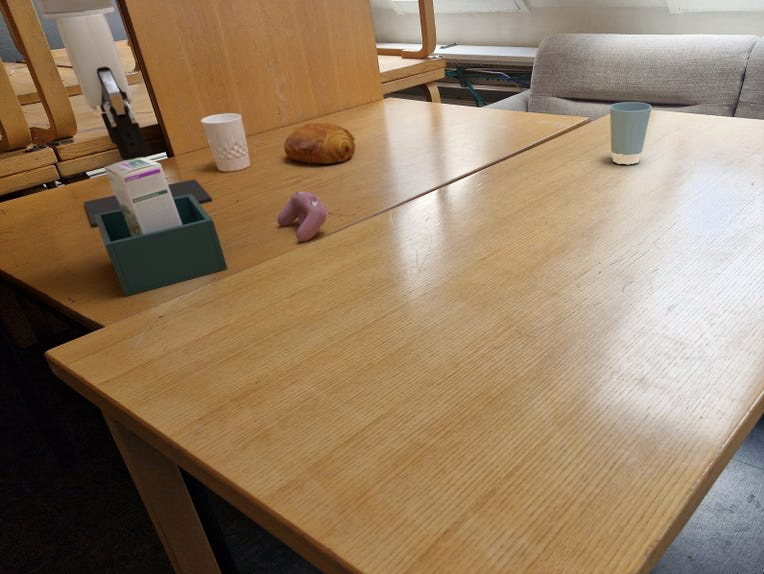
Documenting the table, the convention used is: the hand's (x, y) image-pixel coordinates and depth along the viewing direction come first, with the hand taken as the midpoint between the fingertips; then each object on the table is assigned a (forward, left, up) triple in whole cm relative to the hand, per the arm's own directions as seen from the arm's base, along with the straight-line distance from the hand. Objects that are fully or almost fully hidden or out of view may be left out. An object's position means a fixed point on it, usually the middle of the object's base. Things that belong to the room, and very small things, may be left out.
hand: (130, 149), depth 81 cm
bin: (0, 0, -17) cm, 17 cm away
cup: (+85, -7, -17) cm, 87 cm away
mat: (+2, +32, -17) cm, 36 cm away
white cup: (+21, +44, -17) cm, 52 cm away
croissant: (+39, +38, -17) cm, 57 cm away
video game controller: (+21, 0, -17) cm, 27 cm away
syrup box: (0, 0, -17) cm, 17 cm away
